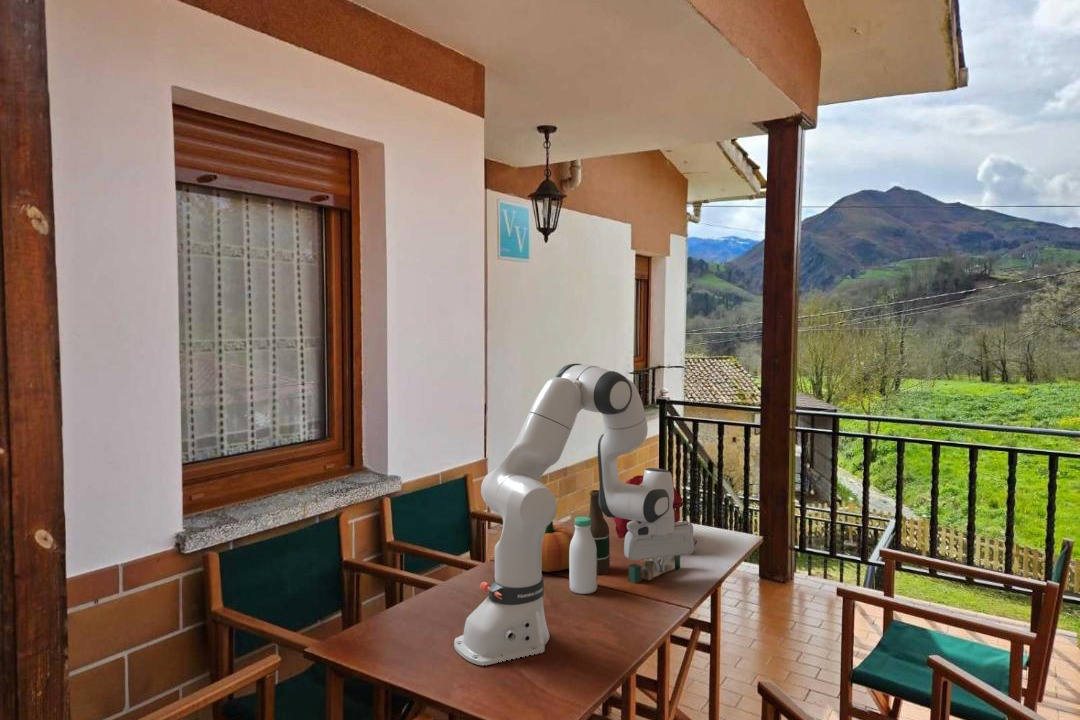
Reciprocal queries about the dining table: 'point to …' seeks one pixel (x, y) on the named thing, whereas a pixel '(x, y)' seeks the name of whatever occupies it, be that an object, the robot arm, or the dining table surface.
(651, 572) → the grey rectangular bar
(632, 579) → the dark green brushed box
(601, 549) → the beer bottle
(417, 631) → the dining table surface
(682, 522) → the robot arm
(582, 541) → the milk bottle
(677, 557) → the hinge post
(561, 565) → the pumpkin
